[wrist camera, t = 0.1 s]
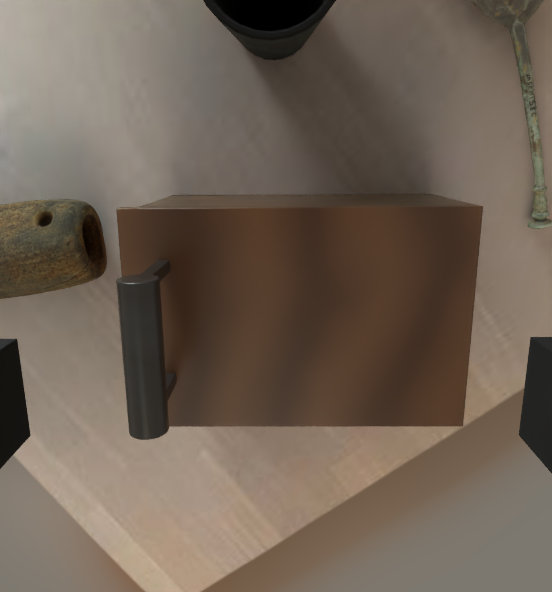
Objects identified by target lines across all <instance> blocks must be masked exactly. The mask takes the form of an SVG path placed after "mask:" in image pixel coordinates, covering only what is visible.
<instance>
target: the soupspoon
mask: <svg viewBox="0 0 552 592" xmlns="http://www.w3.org/2000/svg"><path fill="white" fill-rule="evenodd" d="M471 1H472V2H473V3H474V5H475V6H477V7H478V8H479V9H480V10H481V11H482V12H483V13H485V14H486V15H487V16H488V17H490V18H491V19H493V20H494V21H496V22H498V23H500V24H503V25H505V26H507V27H509V29H510V33H511V36H512V40H513V46H514V50H515V55H516V59H517V65H518V70H519V75H520V81H521V88H522V94H523V101H524V106H525V112H526V119H527V124H528V131H529V138H530V145H531V153H532V162H533V169H534V176H535V186H534V188H533V191H534V192H535V194H536V196H535V198H534V200H533V209H534V211H533V212H532V217H533V218H534V219H533V220H531V221H529V222H528V224H527V225H528V227H530V228H535V229H540V228H546V227H550V226H552V220H550V219H547V218H546V217H547V216H549V211H548V210H547V199H546V196H545V194H544V192H545V191H546V190H547V187H546V186H545V185H544V169H543V156H542V146H541V138H540V130H539V123H538V115H537V107H536V100H535V93H534V85H533V77H532V67H531V61H530V55H529V49H528V43H527V37H526V32H525V26H524V24H525V22H526V21H527V20H528V19H529V18H530V17H531V15H532V14H533V13H534V12H535V11H536V10H537V9H538V8H539V6H540V5H541V3H542V2H543V0H471Z"/></svg>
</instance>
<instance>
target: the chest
mask: <svg viewBox="0 0 552 592" xmlns="http://www.w3.org/2000/svg"><path fill="white" fill-rule="evenodd" d="M434 205H474V204H470V203H466V202H462V201H458V200H454V199H450V198H445V197H441V196H437V195H433V194H330V195H172V196H170V197H167V198H164V199H161V200H158V201H155V202H152V203H149V204H146V205H143V206H140V207H259V206H434Z"/></svg>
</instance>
